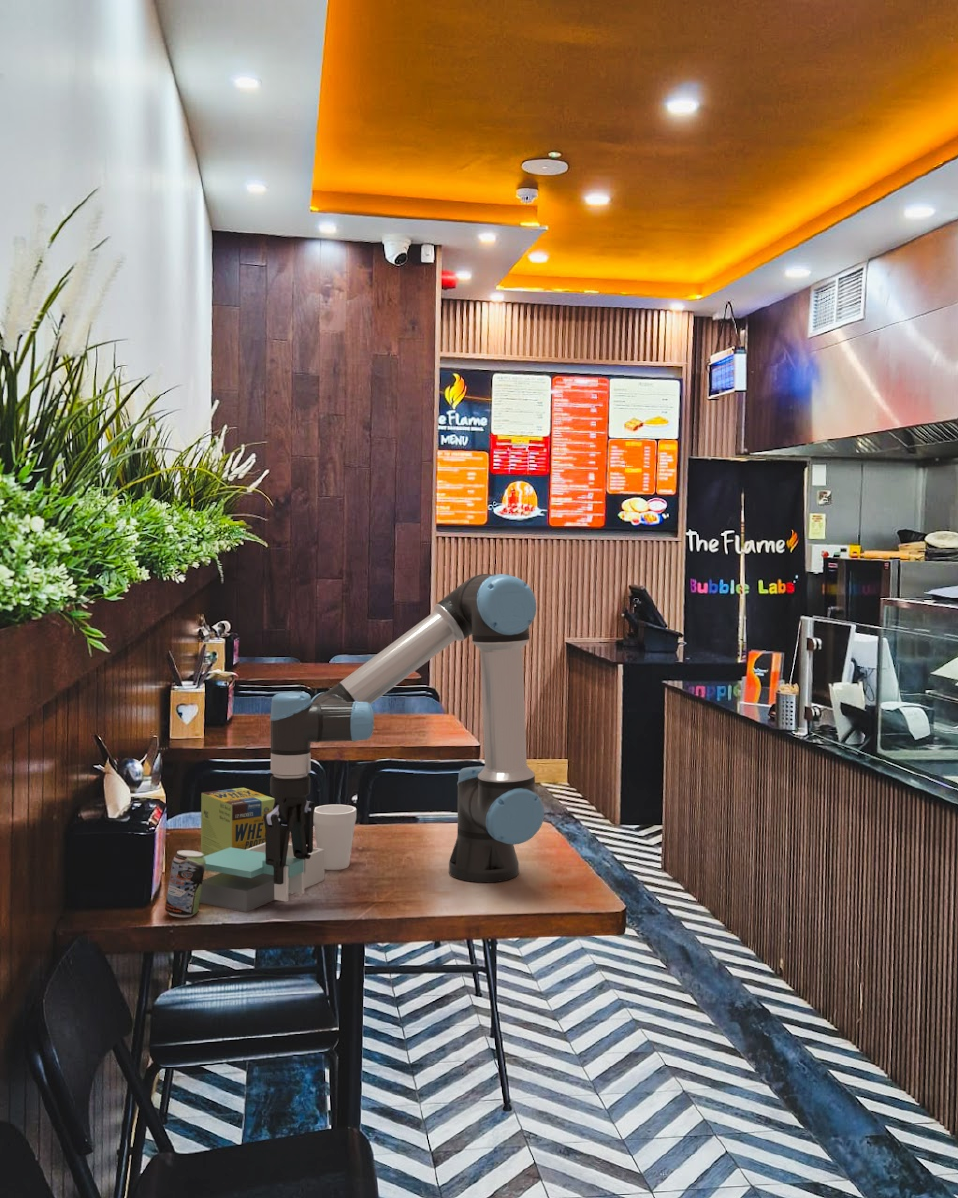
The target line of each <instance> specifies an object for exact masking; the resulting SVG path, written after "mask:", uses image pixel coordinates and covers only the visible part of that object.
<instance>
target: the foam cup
mask: <svg viewBox="0 0 958 1198" xmlns="http://www.w3.org/2000/svg"><path fill="white" fill-rule="evenodd" d="M356 821H357V808H356V806H352V805H349V804H324V805H319V806H315V810H314V815H313V829H314V834H315V844H316V848H320V849H325V850H324V870H326V871H338V870H339V871H340V870H344V869H347V868H348V867H349V866H350V862H351V855H352V854H351V853H352V849H353V848H352V846H353V839H354V832H355V826H356Z"/></svg>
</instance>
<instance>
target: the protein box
mask: <svg viewBox="0 0 958 1198" xmlns="http://www.w3.org/2000/svg"><path fill="white" fill-rule="evenodd" d="M200 797H201V799H200V800H201V801H200V802H201V804H200V805H201V806H200V809H201V811H200V814H201V815H200V852H201V853H203V854H204V855H203V857H204V856H207V855H210V854H213V853H215V852H218V851H221V850H224V849H227V848H230V847H232V848H238V849H244V850H246V849H249V848H251V847H254V846H257V845H260V844H262V843H265V823H264V819H263V815H264V814H265V813H268V814H269V813H270V812H272V811H273V805H274V802H275V799H274V797H273V796H272V797H271V796H268V795H265V794H263V793H260V792H257V791H254V790H251V789H249V788H246V787H238V788H229V789H222V790H213V791H212V790H211V791H203V792H201V796H200Z"/></svg>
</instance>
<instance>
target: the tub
mask: <svg viewBox="0 0 958 1198" xmlns="http://www.w3.org/2000/svg"><path fill="white" fill-rule="evenodd" d="M246 850H250V851H256V852H262V853H265V843H262V844H260V845H257V846H254V847H251V848H249V849H246ZM324 850H325V849H320V848H317V847H314V846H313V851H312V853H308V854H310V855H311V856H310V859H305V874H304V890H305V889H307V888H311V886H313V885H316V884H319V883H320V882H321V883H322V881H324V880H325V869H324ZM287 857H292V858H296V857H294V855H293V847H292V843H289V844H288V851H287ZM290 890H291V877H290V878H289V885H288V895H289V894H290V895H294V894H295V893H292V892H290Z"/></svg>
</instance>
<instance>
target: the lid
mask: <svg viewBox="0 0 958 1198" xmlns="http://www.w3.org/2000/svg"><path fill="white" fill-rule="evenodd" d="M204 859H205V861H206V863H205V869H204V871H209V872H215V873H219V874H220V873H226V874H231V875H237V876H242V877H248V878H252V877H255V876H257V875H260V874H262V873H265V874H271V875H274V868H273V866H271V865H266V854H265V853H262V852H256V851H250V850H244V849H238V848H232V847H230V848H227V849H224V850H221V851H218V852H215V853H213V854H210V855H207V856H204ZM285 866H288V878H290V877H293V876H295V875H297V874H300V873H302V872H304V859H298V858H292V857H287V859H286V865H285Z"/></svg>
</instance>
